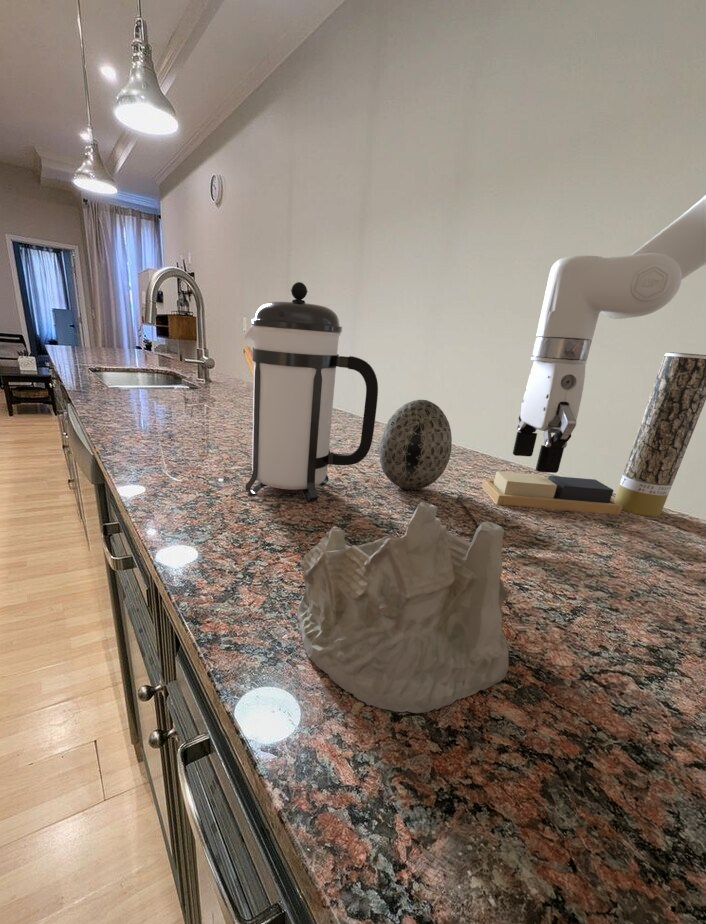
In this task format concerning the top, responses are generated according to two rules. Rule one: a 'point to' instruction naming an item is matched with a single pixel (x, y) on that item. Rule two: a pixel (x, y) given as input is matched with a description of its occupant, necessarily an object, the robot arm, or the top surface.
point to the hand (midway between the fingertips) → (533, 463)
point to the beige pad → (524, 485)
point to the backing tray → (549, 502)
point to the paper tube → (663, 434)
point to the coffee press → (300, 395)
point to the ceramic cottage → (407, 614)
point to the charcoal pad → (581, 489)
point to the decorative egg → (415, 445)
